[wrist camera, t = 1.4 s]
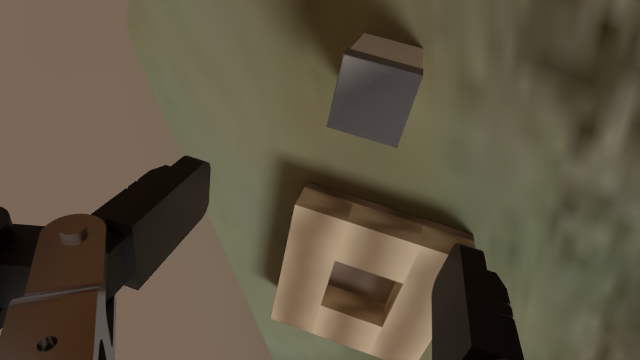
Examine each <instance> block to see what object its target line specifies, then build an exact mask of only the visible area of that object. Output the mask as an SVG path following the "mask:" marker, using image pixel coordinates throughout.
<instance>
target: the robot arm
mask: <svg viewBox="0 0 640 360" xmlns="http://www.w3.org/2000/svg"><path fill="white" fill-rule="evenodd" d="M209 188H210V164H209V163H208V162H206V161H202V160H199V159H196V158H193V157H190V156H184V157H182V158H181V159H180V160H178V161H177V162H176V163H175V164H173V165H172V166H167V165H164V166H162V167H159V168H156V169H153V170H150V171H149V172H147V173H146V174H145V175H143V176H142V177H141V178H139V179H138V181H135V182H134V183H133V184H131V185H130V186H129V187H128V189H124V190H123V191H122V192H120V193H119V194H118V195H116V196H115V197H114V198H112V199H111V200H110V201H108V202H107V203H106V204H104V205H103V206H102V207H100V208H99V209H97V210H96V211H95V212H93V213H92V214H91V215H89V214H72V215H67V216H63V217H60V218H58V219H56V220H54V221H52V222H50V223H49V224H47V225H46V226H34V225H33V226H32V225H21V224H12V221H11V218H10V215H9V213H8V211H7V210H6V209H4V208H2V207H0V329H1V328H2V331H1V335H0V360H115V334H116V293H117V292H118V291H119V289H120V288H121V287H122V286H123V285H125V286H128V287H130V288H133V289H136V290H139V289H140V288H141V286H142V285H143V284H144V283H145V282H146V281H147V280H148V279H149V277H150V276H151V275H152V274H153V273H154V272H155V271H156V270H157V268H158V267H159V266H160V265H161V264H162V263H163V262H164V260H165V259H166V258H167V257H168V256H169V255H170V254H171V253H172V252H173V250H174V249H175V248H176V247H177V246H178V245H179V244H180V242H181V241H182V240H183V239H184V238H185V237H186V236H187V235H188V233H189V232H190V231H191V230H192V229H193V228H194V227H195V225H196V224H197V223H198V222H199V221H200V220H201V219H202V217H203V216H204V214H205V212H206V210H207V207H208V203H209ZM431 303H432V360H524V357H523V353H522V349H521V345H520V341H519V337H518V333H517V329H516V325H515V321H514V319H513V313H512V309H511V307H510V301H509V297H508V293H507V288H506V287H505V285H504V284H503V283H502V281H501V280H500V278H499V277H498V275H497V274H496V273H495V272H491V271H488V270H487V267H486V261H485V256H484V253H483V251H481V250H478V249H475V248H472V247H469V246H466V245H463V244H460V243H456V244H455V245H454V246H453V247H452V249H451V251H450V253H449V255H448V257H447V258H446V260H445V262H444V264H443V266H442V268H441V269H440V271H439V273H438V275H437V277H436V279H435V282H434V285H433V289H432V296H431Z"/></svg>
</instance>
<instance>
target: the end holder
mask: <svg viewBox="0 0 640 360" xmlns="http://www.w3.org/2000/svg"><path fill="white" fill-rule="evenodd" d="M456 243H460V244H463V245H466V246H469V247H472V248H475V243H474V237H473V234H470V233H467V232H464V231H460V230H457V229H454V228H451V227H448V226H445V225H442V224H438V223H435V222H432V221H429V220H426V219H423V218H420V217H416V216H413V215H410V214H407V213H404V212H401V211H398V210H394V209H391V208H388V207H385V206H382V205H379V204H376V203H372V202H369V201H366V200H363V199H360V198H357V197H354V196H351V195H347V194H344V193H341V192H338V191H335V190H332V189H329V188H325V187H322V186H319V185H316V184H313V183H310V182H307V184H306V186H305V187H304V189H303V191H302V193H301V195H300V196H299V198H298V200H297V202H296V204H295V207H294V211H293V216H292V221H291V226H290V230H289V235H288V240H287V245H286V250H285V254H284V259H283V264H282V269H281V273H280V278H279V283H278V288H277V293H276V297H275V302H274V307H273V312H272V316H271V319H274V320H277V321H279V322H282V323H285V324H288V325H291V326H293V327H296V328H299V329H302V330H304V331H307V332H310V333H313V334H315V335H318V336H321V337H324V338H326V339H329V340H332V341H335V342H337V343H340V344H343V345H346V346H348V347H351V348H354V349H357V350H359V351H362V352H365V353H368V354H370V355H373V356H376V357H379V358H381V359H384V360H419V359H420V357H421V356H422V354H423V352H424V351H425V349H426V348H427V346H428V344H429V343H430V341H431V339H432V303H431V296H432V289H433V285H434V282H435V279H436V277H437V275H438V273H439V271H440V269H441V268H442V266H443V264H444V262H445V260H446V258H447V257H448V255H449V253H450V251H451V249H452V247H453V246H454V245H455V244H456Z"/></svg>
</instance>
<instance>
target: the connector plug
mask: <svg viewBox="0 0 640 360" xmlns="http://www.w3.org/2000/svg"><path fill="white" fill-rule="evenodd" d="M423 50H424V49H423V48H419V47H415V46H412V45H408V44H404V43H400V42H397V41H393V40H389V39H386V38H382V37H378V36H375V35H371V34H367V33H364V34H363V35H362V36H361V37H360V38H359V39H358V41H357V42H356V43H355V44H354V45H353V46H352V47H351V48H350V49H349V48H348V50H347V51H346V52H345V53H344V54H343V58H342V62H341V66H340V71H339V75H338V79H337V83H336V88H335V92H334V96H333V101H332V105H331V109H330V113H329V118H328V122H327V126H326V127H329V128H332V129H336V130H339V131H342V132H346V133H349V134H352V135H356V136H359V137H362V138H366V139H369V140H372V141H376V142H379V143H382V144H386V145H389V146H392V147H396V148H397V146H398V144H399V141H400V138H401V135H402V132H403V130H404V127H405V124H406V121H407V119H408V116H409V113H410V110H411V108H412V105H413V102H414V99H415V96H416V94H417V91H418V88H419V85H420V83H421V80H422V77H423V69H422V65H423Z"/></svg>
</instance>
